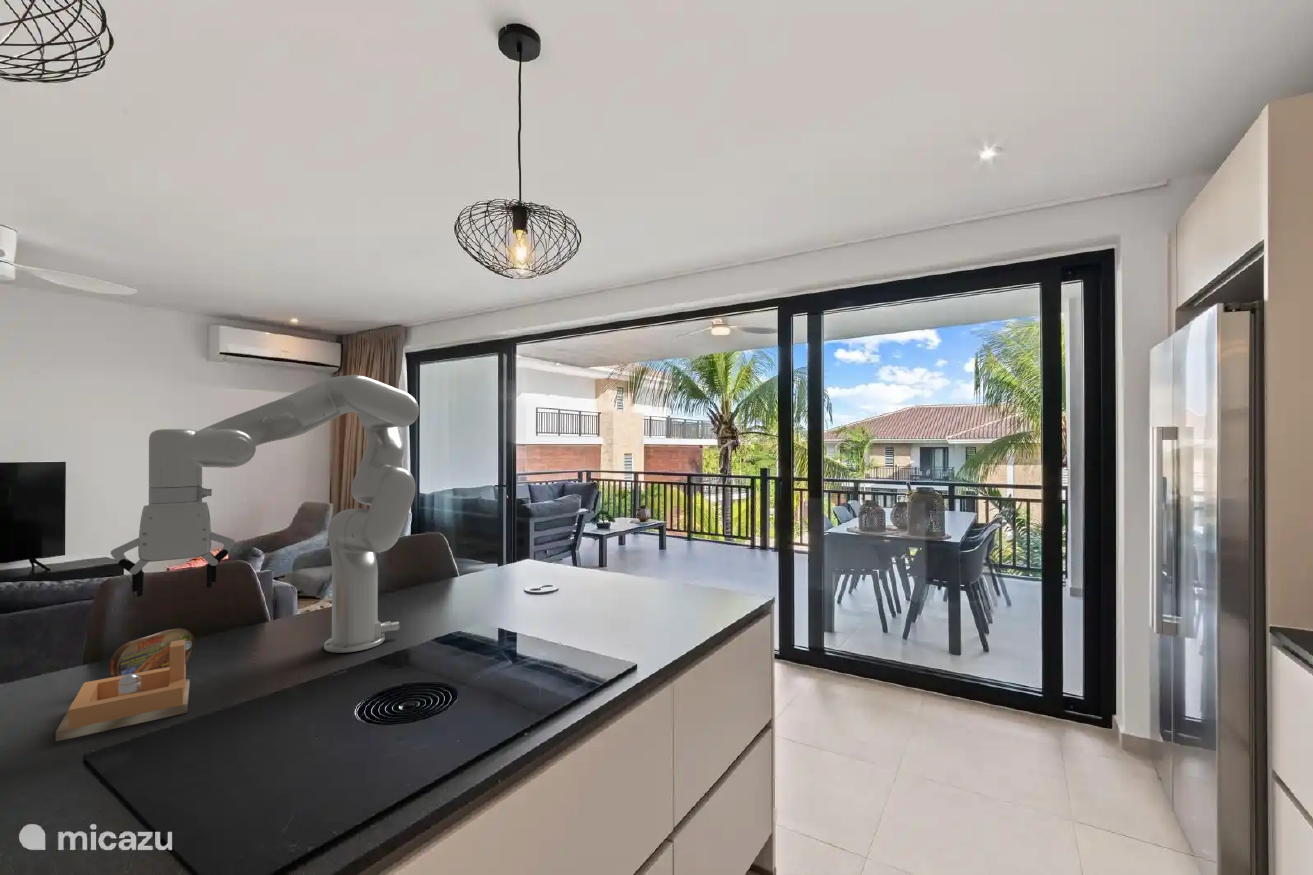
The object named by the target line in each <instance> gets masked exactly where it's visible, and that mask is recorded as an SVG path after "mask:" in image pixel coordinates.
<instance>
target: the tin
mask: <svg viewBox="0 0 1313 875" xmlns="http://www.w3.org/2000/svg"><path fill="white" fill-rule="evenodd" d="M184 639H185V664H186V665H187V663H188V662H189V661H190V659H191V658H192V655H193V654H194V651H195V648H196V647H195V646H196V645H195V644H196V643H195V637H194V636H193V634H192V633H191V632H190V631H189V630H187V629H186V628H173V629H166V630H162V631H160V632H156V633H154V634H151V635H147V636H144V637H141V638H137V639H134V640H130V641H127V642H126V643H124V644H122V645H121V646H119V647H118V649H116V650H115V651H114V653H113V655H112V656H111V658H110V660H109V666H108V668H109V669H108V670H109V675H110V678H112V677H117V676H123V675H127V674H131V673H139V672H145V671H150V670H156V669H161V668H167V667H170V644H171V642H172V641H178V640H184Z"/></svg>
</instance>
